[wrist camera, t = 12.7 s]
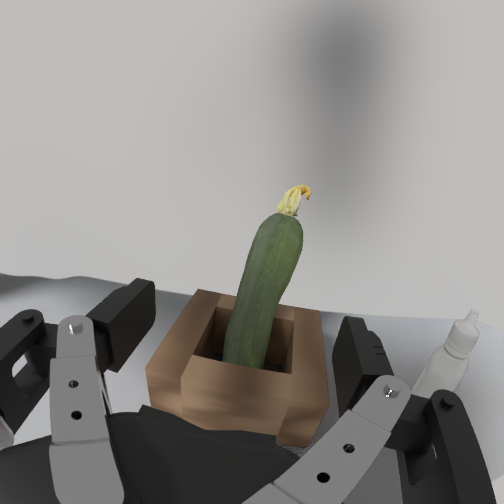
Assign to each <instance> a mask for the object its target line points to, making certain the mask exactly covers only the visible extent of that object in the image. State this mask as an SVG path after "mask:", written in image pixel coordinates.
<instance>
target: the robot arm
mask: <svg viewBox="0 0 504 504" xmlns="http://www.w3.org/2000/svg"><path fill="white" fill-rule="evenodd" d="M155 316H156V306H155V285H154V282H153V281H148V280H144V279H140V278H136V279H135V280H134V281H132V282H131V283H130V284H129V285H128V286H127V287H126V286H124V287H121V288H119V289H116V290H114V291H113V292H112V293H111V294H110V295H109V296H108V297H106V298H105V299H104V300H103V301H102V302H100V303H99V304H98V305H97V306H96V307H95V308H94V309H92V310H91V311H90V312H89V313H88V314H87V315H86V316H82V315H74V316H69V317H67V318H65V319H63V320H62V321H61V322H60V323H59V325H57V324H49V323H45V322H44V318H43V315H42V313H41V312H40V311H38V310H34V309H29V310H24V311H21V312H20V313H18V314H17V315H15V316H14V317H13V318H12V319H11V320H9V321H8V322H7V323H6V324H5V325H3V326H2V327H1V328H0V504H343V503H342V502H343V501H344V499H345V498H346V497H347V496H348V494H349V493H350V492H351V491H352V490H353V488H354V487H355V486H356V484H357V483H358V482H359V480H360V479H361V478H362V476H363V475H364V474H365V472H366V471H367V470H368V468H369V467H370V465H371V464H372V463H373V461H374V460H375V458H376V457H377V455H378V454H379V452H380V451H381V449H382V448H383V447H387V448H391V449H395V450H396V452H397V458H398V465H399V473H400V480H401V489H402V498H403V504H496V499H495V495H494V491H493V488H492V484H491V480H490V477H489V474H488V470H487V467H486V464H485V461H484V458H483V455H482V452H481V449H480V446H479V443H478V441H477V438H476V435H475V433H474V430H473V427H472V425H471V422H470V420H469V418H468V415H467V413H466V410H465V408H464V406H463V403H462V401H461V399H460V398H459V397H458V396H457V395H456V394H455V393H453V392H451V391H449V390H445V389H439V390H436V391H435V392H434V393H433V394H432V395H431V397H430V398H425V397H421V396H417V395H413V394H411V390H410V388H409V386H408V385H407V383H406V382H405V381H403V380H402V379H400V378H398V377H395V376H394V374H393V371H392V368H391V366H390V363H389V360H388V358H387V355H386V353H385V350H384V349H383V345H382V343H381V340H380V338H379V337H378V336H377V335H376V334H375V333H374V332H373V331H368V330H367V327H366V325H365V322H364V319H363V318H357V317H350V316H345V317H344V319H343V321H342V324H341V327H340V330H339V333H338V336H337V339H336V342H335V345H334V348H333V353H332V363H333V369H334V377H335V384H336V391H337V399H338V408H339V416H340V419H339V420H338V421H337V422H336V423H335V424H334V425H333V426H332V428H331V429H330V430H329V431H328V432H327V433H326V434H325V435H324V436H323V437H322V438H321V439H320V440H319V441H318V442H317V443H316V444H315V445H314V446H313V447H312V448H311V449H310V450H309V451H308V452H307V453H306V454H305V455H304V456H302V457H301V458H300V457H299V456H298V455H296V454H295V453H293V452H291V451H290V450H288V449H285V448H283V447H281V446H278V445H276V436H277V435H270V434H263V433H257V432H250V431H244V430H205V429H202V428H200V427H198V426H196V425H194V424H192V423H190V422H188V421H186V420H184V419H182V418H180V417H178V416H176V415H174V414H172V413H168V412H165V411H162V410H158V409H155V408H152V407H149V406H146V405H142V407H141V408H140V410H139V412H138V413H137V412H120V413H112V409H111V404H110V400H109V395H108V390H107V385H106V380H105V376H104V372H105V371H106V370H107V369H108V370H111V371H114V372H116V373H118V371H119V370H120V369H121V367H122V366H123V365H124V363H125V362H126V361H127V359H128V358H129V356H130V355H131V354H132V352H133V351H134V350H135V348H136V347H137V346H138V344H139V343H140V342H141V340H142V339H143V338H144V336H145V335H146V334H147V332H148V331H149V330H150V328H151V327H152V326H153V324H154V321H155ZM23 354H24V355H25V358H26V360H27V364H26V365H25V366H24V367H23V368H22V369H21V370H20V371H19V372H18V373H17V375H16V376H15V377H14V378H13V376H12V368H13V365H14V364H15V363H16V362H17V360H18V359H19V358H20V357H21V356H22V355H23ZM49 387H50V419H51V434H52V435H49V436H45V437H42V438H39V439H35V440H32V441H28V442H25V443H21V444H18V445H14V446H13V443H14V435H15V433H16V432H17V431H18V429H19V428H20V426H21V425H22V424H23V422H24V421H25V419H26V418H27V417H28V415H29V414H30V413H31V411H32V410H33V408H34V407H35V406H36V404H37V403H38V402H39V400H40V399H41V398H42V397H43V395H44V394H45V393H46V391H47V390H48V389H49ZM433 446H434V447H435V451H436V456H437V460H436V457H435V453H434V449H433Z"/></svg>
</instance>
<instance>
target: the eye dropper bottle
mask: <svg viewBox="0 0 504 504" xmlns="http://www.w3.org/2000/svg"><path fill="white" fill-rule="evenodd" d="M478 314H479V313H478V312H477V311H476V310H473V309H472V310H471V311H470V313H469V314H468V316H467V317H466V318H465V319H464V320H457V321H455V322H454V325H453V327H452V329H451V331H450V333H449V335H448V337H447V339H446V341H445V343H444V345H442V346H440V347H439V348H437V349H436V350H435V352H434V353H433V354H432V355H431V357H430V359H429V360H428V362H427V364H426V366H425V368H424V369H423V371H422V373H421V375H420V376H419V378H418V380H417V381H416V383H415V385H414V386H413V388H412V390H411V394H413V395H417V396H421V397H425V398H430V397H431V395H432V394H433V393H434V392H435V391H436V390H439V389H445V390H449V391H451V392H453V391H454V389H455V388H456V386H457V385H458V383H459V381H460V380H461V378H462V377H463V375H464V373H465V371H466V369H467V366H468V356H469V354H470V352H471V350H472V349H473V347H474V345H475V343H476V341H477V339H478V337H479V330H478V329H477V328H476V321H477V318H478Z"/></svg>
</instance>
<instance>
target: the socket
mask: <svg viewBox="0 0 504 504" xmlns="http://www.w3.org/2000/svg"><path fill="white" fill-rule="evenodd" d="M236 297H237V296H231V295H226V294H221V293H216V292H211V291H206V290H201V289H198V290H197V291H196V293H195V294H194V295H193V297H192V298H191V300H190V301H189V303H188V304H187V306H186V307H185V309H184V310H183V312H182V313H181V315H180V316H179V318H178V319H177V320H176V322H175V323H174V325H173V326H172V328H171V329H170V331H169V332H168V334H167V335H166V337H165V338H164V340H163V341H162V343H161V344H160V346H159V347H158V349H157V350H156V352H155V353H154V355H153V356H152V358H151V360H150V361H149V363H148V364H147V366H146V367H145V370H146V377H147V384H148V390H149V397H150V403H151V407H152V408H155V409H158V410H162V411H165V412H168V413H172V414H174V415H176V416H178V417H180V418H182V419H184V420H186V421H188V422H190V423H192V424H194V425H196V426H198V427H200V428H202V429H205V430H244V431H250V432H257V433H263V434H270V435H277V436H276V444H280V445H288V446H298V447H307V446H308V444H309V442H310V441H311V439H312V437H313V435H314V433H315V431H316V429H317V428H318V426H319V424H320V422H321V420H322V418H323V416H324V414H325V412H326V410H327V408H328V406H329V397H328V385H327V374H326V364H325V354H324V345H323V336H322V328H321V320H320V312H319V311H318V310H311V309H305V308H299V307H293V306H287V305H281V304H278V306H277V309H276V312H275V315H274V318H273V322H272V328H271V333H270V339H269V343H268V347H267V352H266V356H265V361H264V363H268V364H274V365H280V366H282V373H280V372H274V371H268V370H262V369H257V368H251V367H246V366H241V365H236V364H231V363H226V362H221V361H217V360H212V359H210V358H211V355H212V353H217V354H222V355H223V351H224V341H225V335H226V331H227V327H228V324H229V321H230V318H231V315H232V311H233V308H234V304H235V301H236Z"/></svg>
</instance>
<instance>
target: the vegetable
mask: <svg viewBox="0 0 504 504" xmlns="http://www.w3.org/2000/svg"><path fill="white" fill-rule="evenodd" d="M292 188H293V189H290V190H289V191H287V192H286V194H285V196H284V198H283V199H282V200H281V202H280V203H279V205H278V207H277V212H278V213H276V214H273V215H272V216H270V217H269V218H267V219H266V220H265V221H264V222H263V223H262V224H261V226H260V227H259V229H258V231H257V233H256V235H255V238H254V240H253V242H252V246H251V249H250V251H249V254H248V258H247V261H246V265H245V270H244V273H243V276H242V279H241V282H240V286H239V289H238V293H237V297H236V301H235V304H234V308H233V311H232V315H231V318H230V321H229V324H228V327H227V331H226V335H225V341H224V351H223V362H226V363H231V364H236V365H241V366H246V367H251V368H257V369H262V370H263V367H264V361H265V356H266V352H267V347H268V343H269V339H270V333H271V328H272V322H273V318H274V315H275V312H276V309H277V306H278V303H279V301H280V299H281V296H282V295H283V293H284V291H285V289H286V287H287V286H288V284H289V282H290V279H291V277H292V274H293V272H294V269H295V267H296V265H297V262H298V259H299V257H300V254H301V251H302V246H303V230H302V227H301V224H300V223H299V221H298V220H297V219H295V218H294V216H297V215H296V213H297V210H298V208H299V204H300V199H301V195H302V194H304V193H306V194H305V197H306V199H307V200H308V199H309V196H310V195H311V192H310V188H309V187H308V186H306V185H302V184H300V185H299V186H296V187H292Z"/></svg>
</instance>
